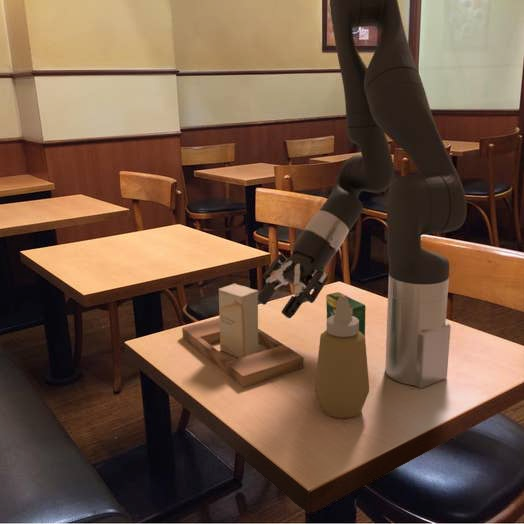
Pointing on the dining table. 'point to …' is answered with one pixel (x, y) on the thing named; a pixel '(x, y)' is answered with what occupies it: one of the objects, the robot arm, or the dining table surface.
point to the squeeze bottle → (342, 364)
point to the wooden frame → (250, 366)
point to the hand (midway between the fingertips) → (272, 308)
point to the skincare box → (238, 320)
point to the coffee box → (355, 308)
